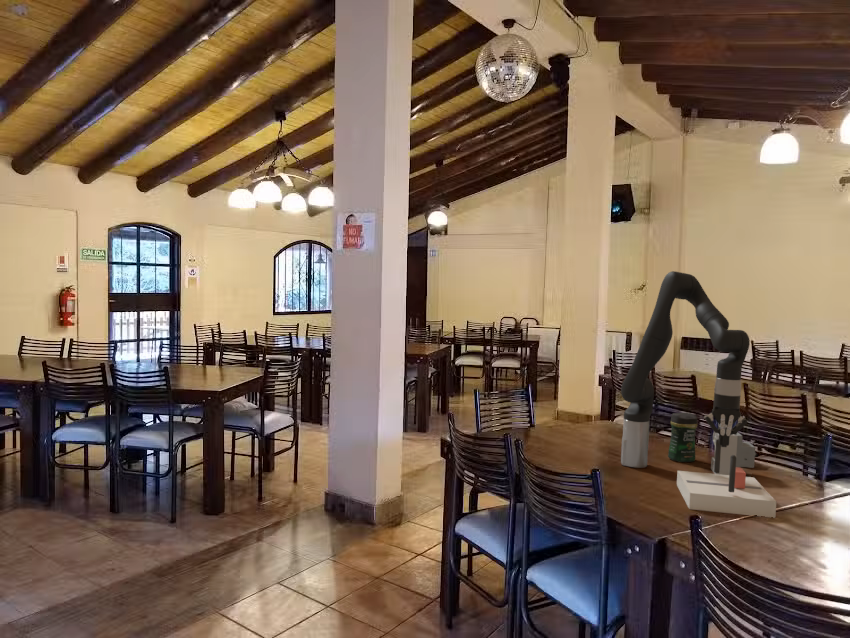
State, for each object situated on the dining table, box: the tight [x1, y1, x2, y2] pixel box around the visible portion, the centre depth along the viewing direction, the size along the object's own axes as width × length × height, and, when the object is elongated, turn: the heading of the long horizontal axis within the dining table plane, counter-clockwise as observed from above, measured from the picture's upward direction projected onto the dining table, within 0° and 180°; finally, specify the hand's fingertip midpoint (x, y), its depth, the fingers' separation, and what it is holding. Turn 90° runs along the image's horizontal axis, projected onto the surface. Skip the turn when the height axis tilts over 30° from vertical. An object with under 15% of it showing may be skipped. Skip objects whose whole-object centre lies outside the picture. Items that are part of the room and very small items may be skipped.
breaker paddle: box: [734, 467, 747, 489], centre depth 202 cm, size 3×6×5 cm, turn 167°
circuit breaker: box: [710, 431, 759, 475], centre depth 233 cm, size 8×14×15 cm, turn 78°
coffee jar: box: [667, 412, 698, 463], centre depth 249 cm, size 10×8×19 cm
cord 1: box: [713, 439, 721, 474], centre depth 212 cm, size 2×2×11 cm
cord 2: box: [728, 455, 736, 492], centre depth 193 cm, size 2×2×11 cm
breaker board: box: [676, 470, 777, 519], centre depth 203 cm, size 24×24×5 cm
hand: (723, 446), depth 202 cm, fingers closed
